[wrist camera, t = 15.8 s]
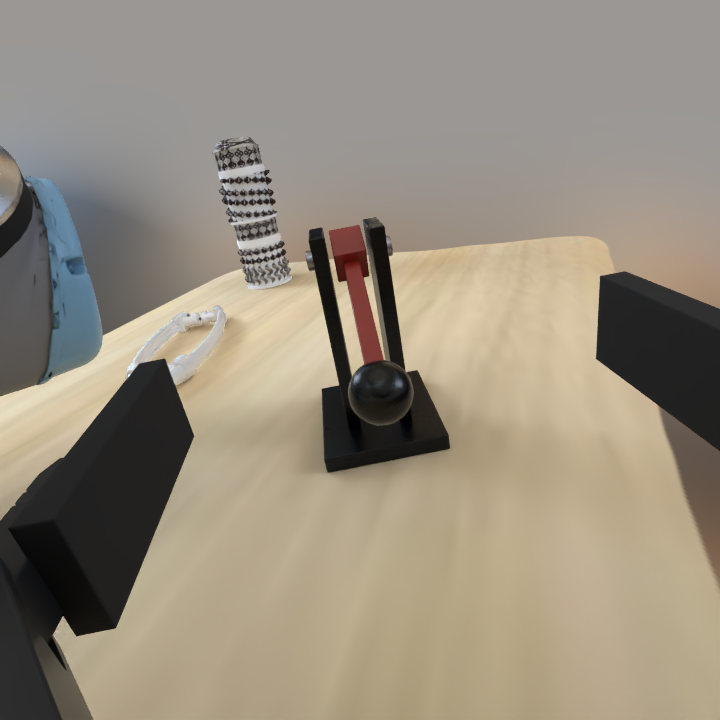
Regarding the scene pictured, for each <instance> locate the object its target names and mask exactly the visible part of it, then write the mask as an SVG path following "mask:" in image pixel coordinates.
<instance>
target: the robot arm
mask: <svg viewBox="0 0 720 720" xmlns="http://www.w3.org/2000/svg"><path fill="white" fill-rule="evenodd" d="M84 262H85V260H84V257H83V254H82V250H81V246H80V242H79V239H78V236H77V232H76V230H75V227H74V224H73V221H72V218H71V216H70V213H69V210H68V208H67V205H66V203H65V201H64V199H63V197H62V195H61V193H60V190H59V189H58V187H57V186H56V185H55V184H54V183H53V182H51V181H50V180H48V179H40V178H39V179H38V178H34V177H31V176H29V177H25V178H23V177H22V174H21V172H20V169H19V167H18V165H17V163H16V161H15V160H14V159H13V158H12V156H11V155H10V154H9V153H8V152H7V151H6V150H5V149H4V148H3V147H2V146H0V396H3V395H6V394H9V393H12V392H15V391H18V390H22V389H25V388H28V387H31V386H34V385H41V384H44V383H46V382H48V381H49V380H50V379H51V378H52V377H55V376H57V375H60V374H63V373H65V372H68V371H70V370H73V369H75V368H78V367H80V366H83V365H85V364H87V363H89V362H90V361H92V360H93V359H94V358H95V357H96V356H97V354H98V353H99V351H100V348H101V345H102V326H101V321H100V316H99V311H98V306H97V302H96V297H95V294H94V289H93V286H92V282H91V279H90V276H89V273H88V270H87V268H86V267H85V265H84ZM596 359H597V360H598V361H600V362H601V363H602V364H604V365H605V366H606V367H608V368H609V369H610V370H612V371H613V372H614V373H616V374H617V375H618V376H620V377H621V378H622V379H624V380H625V381H626V382H628V383H629V384H631V385H632V386H633V387H635V388H636V389H637V390H639V391H640V392H641V393H643V394H644V395H645V396H647V397H648V398H649V399H651V400H652V401H653V402H655V403H656V404H657V405H659V406H660V407H661V408H663V409H664V410H666V411H667V412H668V413H669V414H671V415H673V417H675V418H676V419H678V420H679V421H680V422H682V423H683V424H684V425H686V426H687V427H688V428H690V429H691V430H692V431H694V432H695V433H696V434H698V435H699V436H700V437H702V438H703V439H704V440H706V441H707V442H708V443H710V444H711V445H712V446H714V447H715V448H717V449H718V450H719V451H720V309H719V308H716V307H714V306H711V305H708V304H706V303H703V302H701V301H698V300H696V299H693V298H691V297H688V296H686V295H683V294H681V293H678V292H676V291H673V290H671V289H668V288H666V287H663V286H661V285H658V284H656V283H653V282H651V281H648V280H646V279H643V278H640V277H638V276H635V275H633V274H630V273H628V272H620V273H614V274H609V275H604V276H600V290H599V310H598V331H597V351H596ZM193 438H194V434H193V432H192V429H191V426H190V424H189V421H188V418H187V416H186V413H185V410H184V408H183V405H182V402H181V400H180V397H179V394H178V392H177V389H176V386H175V384H174V381H173V378H172V376H171V373H170V370H169V368H168V365H167V362H166V360H165V359H160V360H155V361H150V362H144V363H139V364H138V366H137V367H136V368H135V369H134V371H133V372H132V373H131V374H130V376H129V377H128V378H127V379H126V381H125V382H124V383H123V385H122V386H121V387H120V388H119V390H118V391H117V392H116V393H115V395H114V396H113V397H112V398H111V400H110V401H109V402H108V403H107V405H106V406H105V407H104V408H103V410H102V411H101V412H100V413H99V415H98V416H97V417H96V418H95V420H94V421H93V422H92V423H91V425H90V426H89V427H88V428H87V430H86V431H85V432H84V433H83V435H82V436H81V437H80V438H79V440H78V441H77V442H76V443H75V445H74V446H73V447H72V449H71V450H70V451H69V452H68V454H67V455H66V456H65V457H64V458H60V459H58V460H57V461H56V462H54V463H53V464H52V465H51V466H49V467H48V468H47V469H45V470H44V471H43V472H41V473H40V474H39V475H38V476H37V478H36V479H35V480H34V481H33V482H32V484H31V485H30V486H29V487H28V488H27V490H26V491H27V492H26V493H23V494H22V496H21V497H20V498H19V499H18V500H17V502H16V503H15V504H16V506H13V507H12V508H11V509H10V510H9V511H8V512H7V514H6V515H5V516H4V517H3V518H2V520H1V521H0V720H93V718H92V716H91V713H90V711H89V709H88V707H87V705H86V702H85V700H84V698H83V696H82V694H81V691H80V689H79V687H78V685H77V683H76V680H75V678H74V676H73V674H72V672H71V669H70V667H69V665H68V663H67V661H66V658H65V656H64V654H63V652H62V650H61V647H60V646H59V644H58V643H57V641H56V640H55V638H54V637H53V633H54V631H55V629H56V628H57V626H58V624H59V622H60V620H61V618H62V616H64V618H65V619H66V621H67V622H68V624H69V626H70V627H71V629H72V630H73V632H74V633H75V635H76V636H80V635H85V634H90V633H95V632H100V631H105V630H110V629H115V628H116V627H117V624H118V622H119V620H120V617H121V615H122V612H123V610H124V607H125V605H126V602H127V600H128V597H129V595H130V592H131V590H132V588H133V585H134V583H135V580H136V578H137V575H138V573H139V570H140V568H141V565H142V563H143V561H144V558H145V556H146V553H147V551H148V548H149V546H150V543H151V541H152V538H153V536H154V534H155V531H156V529H157V526H158V524H159V521H160V519H161V516H162V514H163V511H164V509H165V506H166V504H167V502H168V499H169V497H170V494H171V492H172V489H173V487H174V484H175V482H176V479H177V477H178V475H179V472H180V470H181V467H182V465H183V462H184V460H185V457H186V455H187V452H188V450H189V448H190V445H191V443H192V440H193Z"/></svg>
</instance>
